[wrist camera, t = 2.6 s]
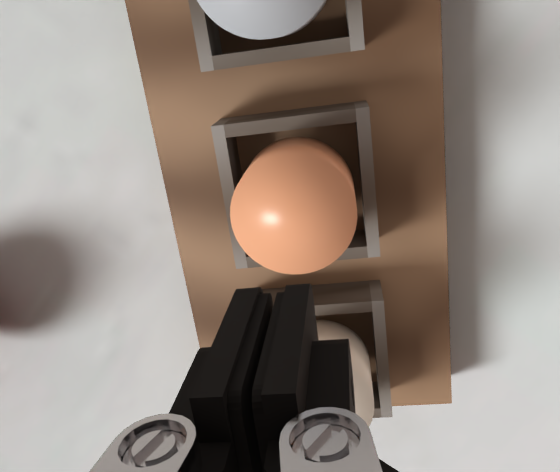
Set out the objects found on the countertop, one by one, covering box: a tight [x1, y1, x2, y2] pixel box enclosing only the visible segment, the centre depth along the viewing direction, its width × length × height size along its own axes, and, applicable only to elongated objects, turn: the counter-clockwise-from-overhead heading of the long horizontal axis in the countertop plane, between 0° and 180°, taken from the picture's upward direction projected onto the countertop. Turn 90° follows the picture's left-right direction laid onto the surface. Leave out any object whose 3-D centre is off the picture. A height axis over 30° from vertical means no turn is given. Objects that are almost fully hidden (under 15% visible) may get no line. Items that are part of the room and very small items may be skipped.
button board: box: [125, 0, 452, 418], centre depth 23 cm, size 24×12×4 cm, turn 8°
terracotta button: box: [230, 137, 357, 274], centre depth 20 cm, size 4×4×3 cm
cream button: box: [316, 320, 374, 427], centre depth 23 cm, size 4×4×3 cm
